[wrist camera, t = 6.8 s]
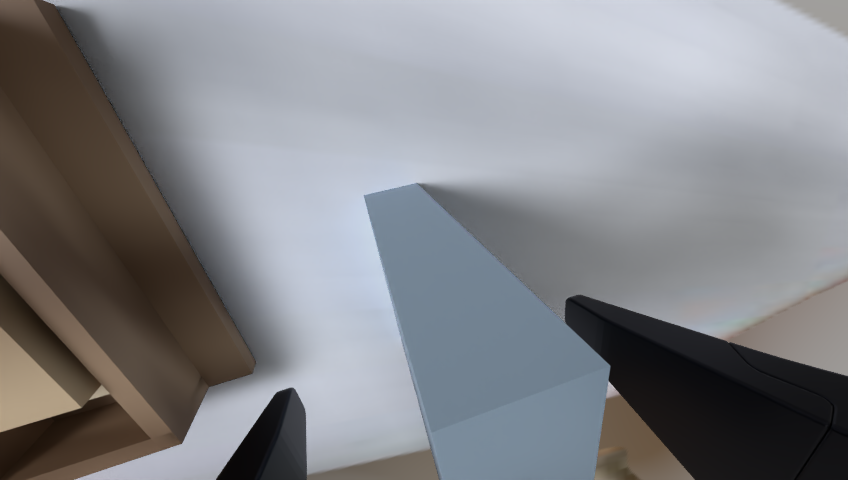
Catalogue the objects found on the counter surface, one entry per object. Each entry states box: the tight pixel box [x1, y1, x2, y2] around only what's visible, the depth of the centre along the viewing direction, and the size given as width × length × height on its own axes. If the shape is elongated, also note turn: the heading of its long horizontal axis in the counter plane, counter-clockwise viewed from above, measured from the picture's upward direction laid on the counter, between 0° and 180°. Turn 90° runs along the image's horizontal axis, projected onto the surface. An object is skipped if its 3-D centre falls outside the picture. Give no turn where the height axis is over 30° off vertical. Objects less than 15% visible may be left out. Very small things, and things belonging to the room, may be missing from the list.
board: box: [364, 183, 610, 480], centre depth 9 cm, size 7×2×9 cm, turn 10°
